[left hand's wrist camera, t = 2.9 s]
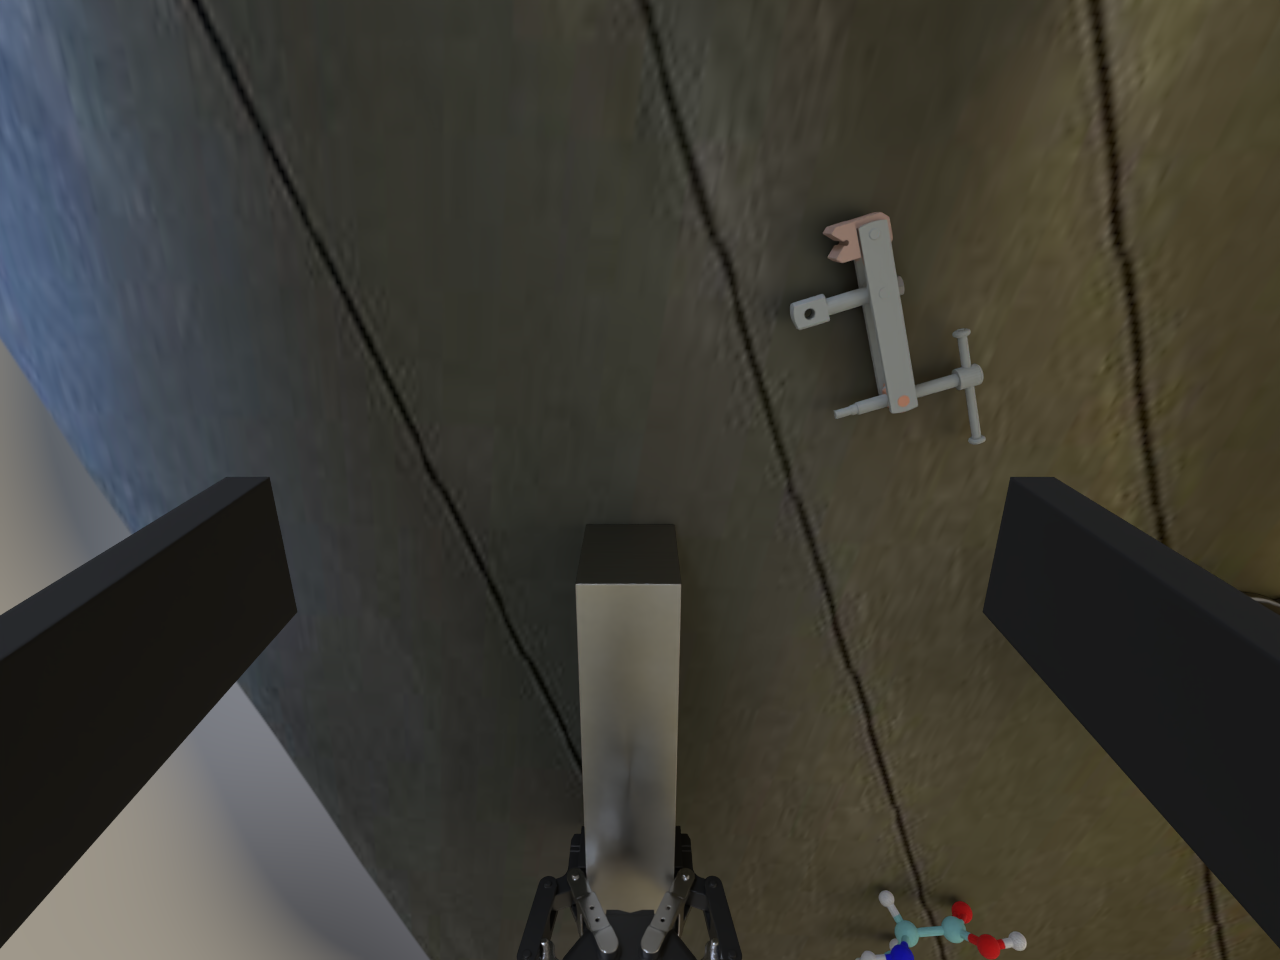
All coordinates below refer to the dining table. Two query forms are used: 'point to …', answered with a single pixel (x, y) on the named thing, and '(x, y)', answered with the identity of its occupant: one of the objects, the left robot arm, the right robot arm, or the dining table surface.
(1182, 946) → the dining table surface
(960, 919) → the molecular model
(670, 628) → the bar
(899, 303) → the clamp
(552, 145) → the dining table surface
